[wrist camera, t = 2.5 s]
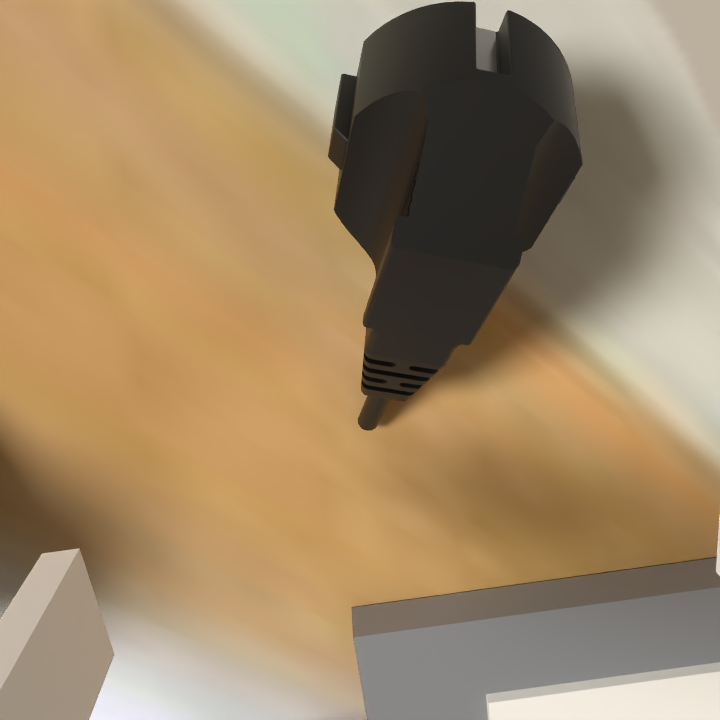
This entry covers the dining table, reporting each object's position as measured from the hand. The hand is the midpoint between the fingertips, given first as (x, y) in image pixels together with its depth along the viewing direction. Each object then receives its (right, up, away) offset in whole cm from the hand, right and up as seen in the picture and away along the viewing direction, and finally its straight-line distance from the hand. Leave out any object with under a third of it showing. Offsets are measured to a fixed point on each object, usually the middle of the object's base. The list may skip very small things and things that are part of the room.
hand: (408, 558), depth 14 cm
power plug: (-1, +4, +10) cm, 11 cm away
